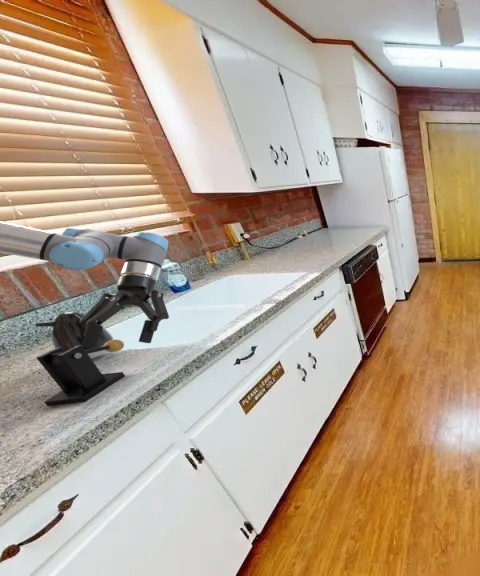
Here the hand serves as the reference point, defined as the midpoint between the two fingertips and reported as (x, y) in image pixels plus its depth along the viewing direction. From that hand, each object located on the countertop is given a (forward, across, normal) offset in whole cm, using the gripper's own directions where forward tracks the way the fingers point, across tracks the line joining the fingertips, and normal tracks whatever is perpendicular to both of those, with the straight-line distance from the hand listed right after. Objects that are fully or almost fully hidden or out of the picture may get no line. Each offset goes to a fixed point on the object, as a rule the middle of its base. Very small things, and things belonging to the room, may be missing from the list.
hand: (116, 344), depth 86 cm
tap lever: (+4, 0, +5) cm, 6 cm away
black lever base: (+13, 0, +3) cm, 13 cm away
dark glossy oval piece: (0, +15, -10) cm, 18 cm away
